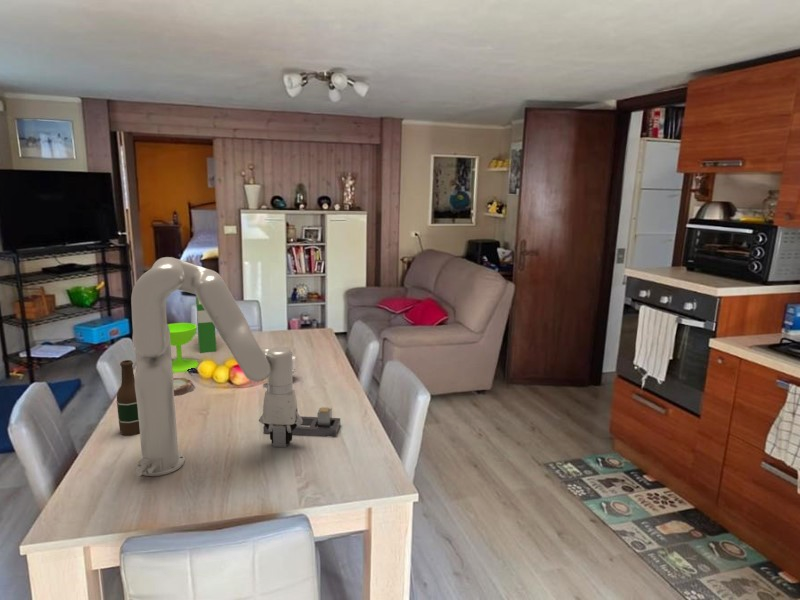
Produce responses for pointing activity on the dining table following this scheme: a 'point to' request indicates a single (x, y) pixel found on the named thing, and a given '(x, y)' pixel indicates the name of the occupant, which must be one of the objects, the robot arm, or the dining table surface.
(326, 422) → the grey tan rectangular block
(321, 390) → the dining table surface
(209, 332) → the hardback book
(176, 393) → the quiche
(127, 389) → the beer bottle
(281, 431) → the brushed metal block
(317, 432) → the rail
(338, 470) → the dining table surface
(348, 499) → the dining table surface
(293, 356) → the mechanical part
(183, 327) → the green goblet
